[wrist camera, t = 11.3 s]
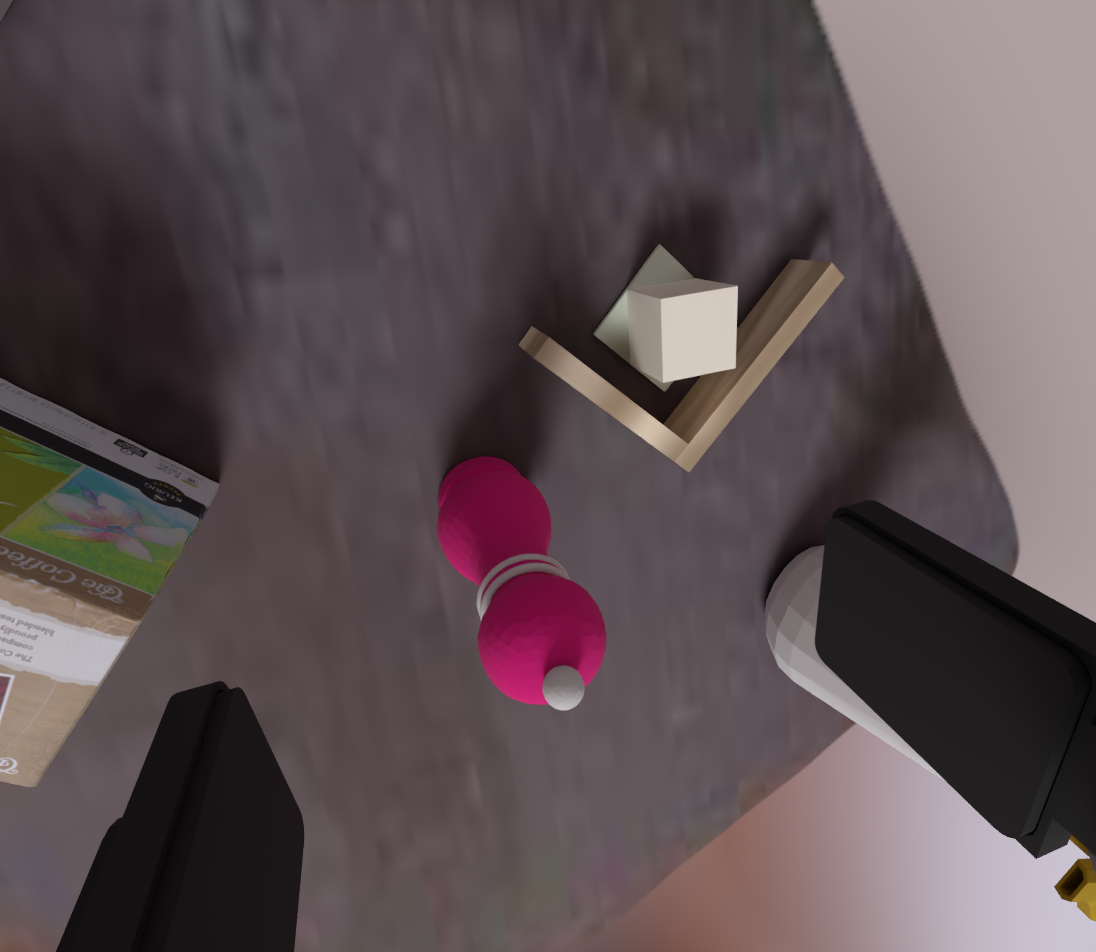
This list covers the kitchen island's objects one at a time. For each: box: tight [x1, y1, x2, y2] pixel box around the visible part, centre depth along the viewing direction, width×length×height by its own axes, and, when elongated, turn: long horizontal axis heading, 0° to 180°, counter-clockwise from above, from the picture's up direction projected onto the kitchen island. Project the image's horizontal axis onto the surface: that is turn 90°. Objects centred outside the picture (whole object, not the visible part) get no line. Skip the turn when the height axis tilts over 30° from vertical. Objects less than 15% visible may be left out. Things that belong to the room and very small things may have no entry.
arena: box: [518, 244, 844, 472], centre depth 38 cm, size 14×16×4 cm
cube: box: [626, 278, 738, 383], centre depth 37 cm, size 5×5×5 cm
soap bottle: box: [764, 545, 1096, 921], centre depth 40 cm, size 13×10×29 cm
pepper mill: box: [437, 456, 606, 710], centre depth 33 cm, size 7×7×20 cm
